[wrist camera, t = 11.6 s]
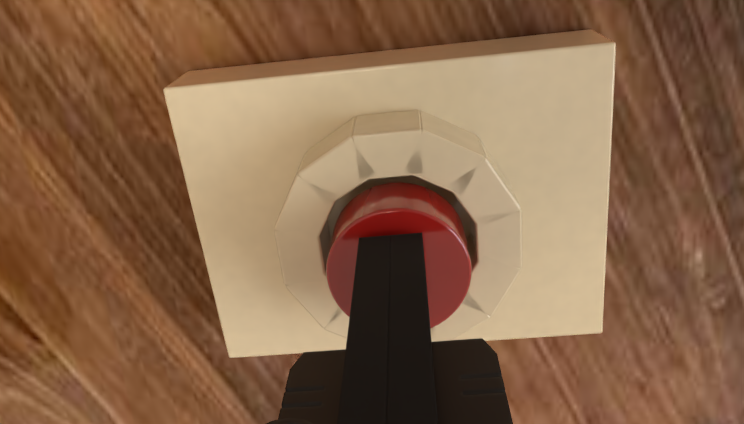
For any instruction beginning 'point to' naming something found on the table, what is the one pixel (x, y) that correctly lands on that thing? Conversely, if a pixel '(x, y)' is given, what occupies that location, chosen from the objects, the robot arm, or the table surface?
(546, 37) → the button block
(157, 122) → the table surface
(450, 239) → the button
